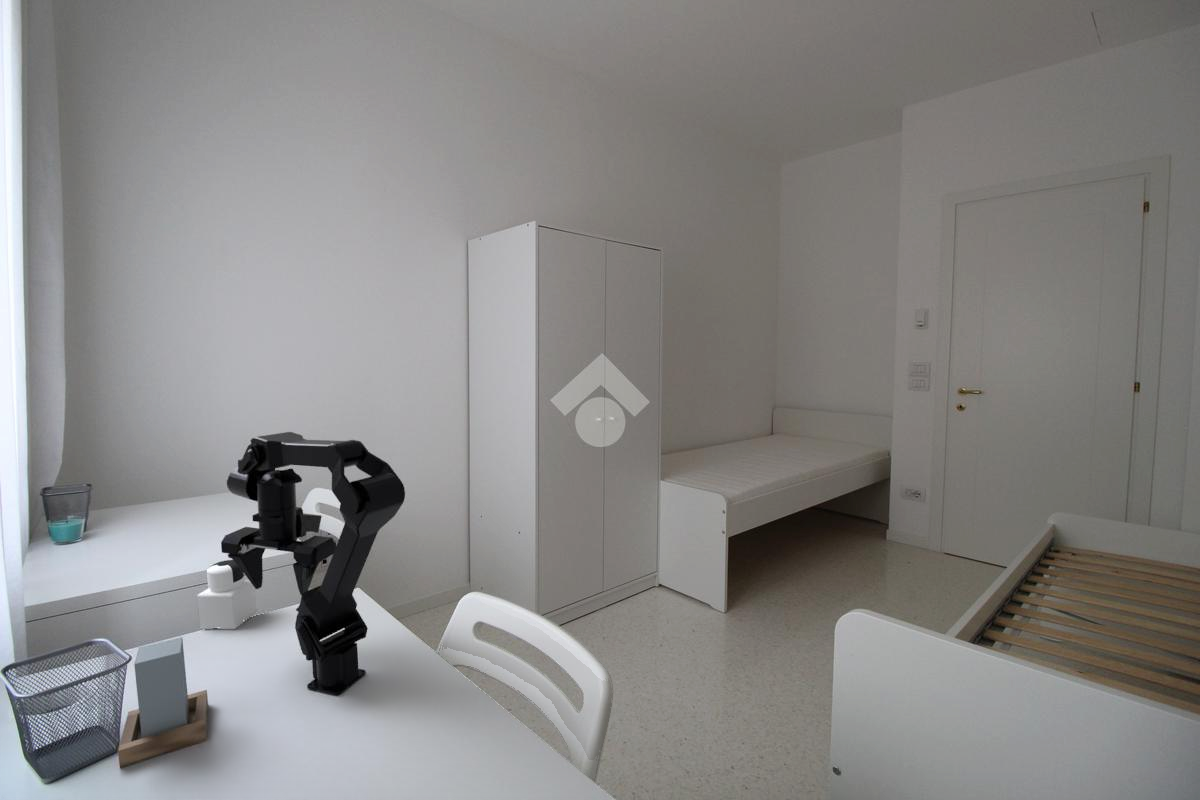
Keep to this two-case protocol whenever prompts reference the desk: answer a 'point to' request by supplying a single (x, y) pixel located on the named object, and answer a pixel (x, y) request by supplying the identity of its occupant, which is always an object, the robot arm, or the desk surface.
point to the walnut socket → (163, 734)
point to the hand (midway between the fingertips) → (281, 591)
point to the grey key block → (161, 687)
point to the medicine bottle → (226, 597)
